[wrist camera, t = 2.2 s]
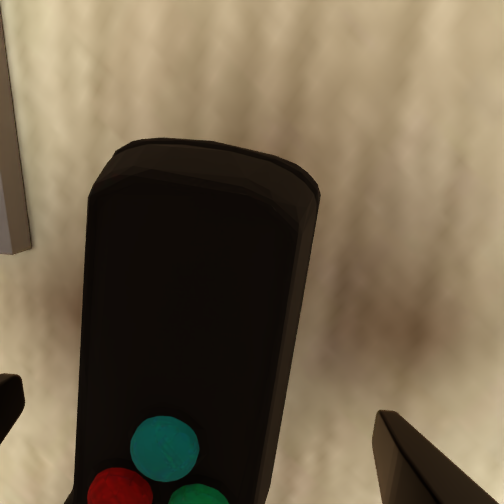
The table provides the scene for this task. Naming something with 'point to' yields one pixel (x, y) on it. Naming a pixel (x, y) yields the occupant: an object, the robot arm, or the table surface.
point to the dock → (10, 171)
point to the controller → (189, 321)
